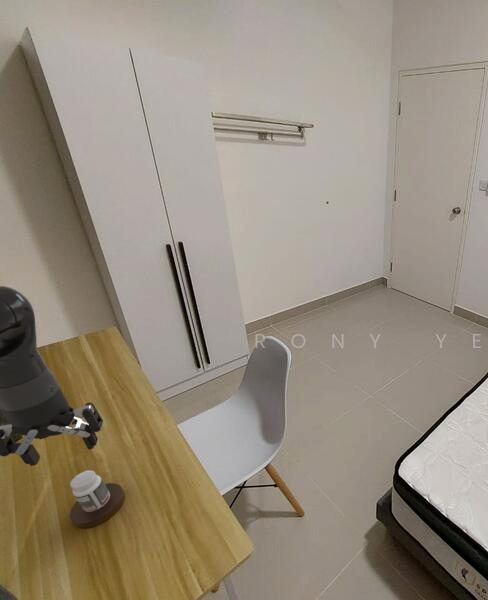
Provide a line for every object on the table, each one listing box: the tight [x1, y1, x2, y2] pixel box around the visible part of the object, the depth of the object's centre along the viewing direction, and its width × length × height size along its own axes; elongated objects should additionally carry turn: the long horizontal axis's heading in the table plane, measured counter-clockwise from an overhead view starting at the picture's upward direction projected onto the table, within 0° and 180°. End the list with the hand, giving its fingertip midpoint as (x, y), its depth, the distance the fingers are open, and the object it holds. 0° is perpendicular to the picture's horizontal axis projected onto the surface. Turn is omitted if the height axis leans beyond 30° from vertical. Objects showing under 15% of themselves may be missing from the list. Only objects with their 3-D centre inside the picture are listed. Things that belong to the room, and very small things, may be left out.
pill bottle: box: [69, 469, 110, 512], centre depth 71 cm, size 5×5×8 cm
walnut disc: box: [69, 482, 126, 530], centre depth 74 cm, size 9×9×2 cm
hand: (64, 453), depth 66 cm, fingers open, 8 cm apart
